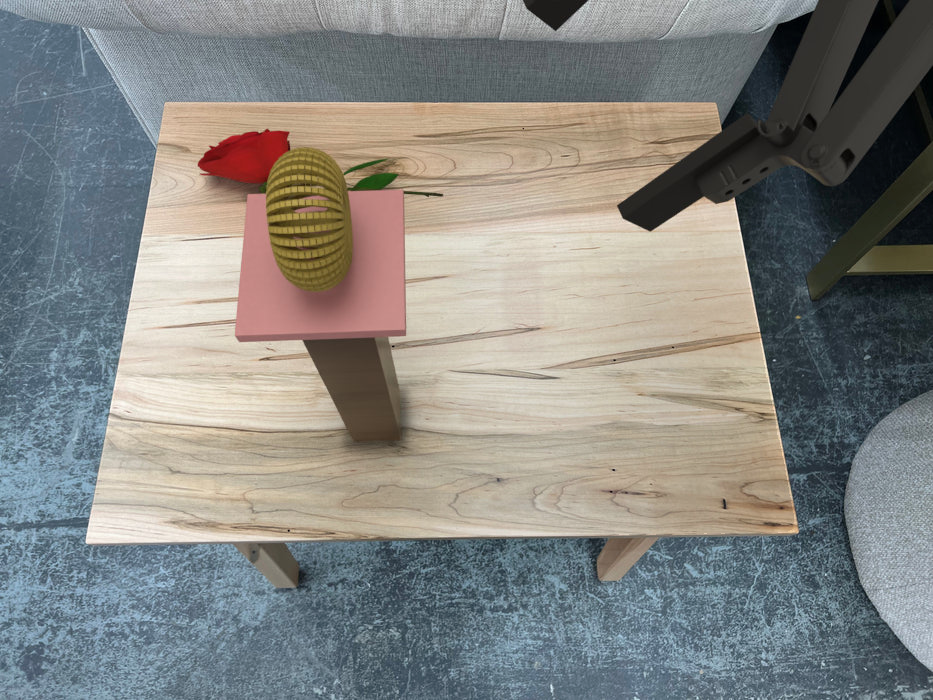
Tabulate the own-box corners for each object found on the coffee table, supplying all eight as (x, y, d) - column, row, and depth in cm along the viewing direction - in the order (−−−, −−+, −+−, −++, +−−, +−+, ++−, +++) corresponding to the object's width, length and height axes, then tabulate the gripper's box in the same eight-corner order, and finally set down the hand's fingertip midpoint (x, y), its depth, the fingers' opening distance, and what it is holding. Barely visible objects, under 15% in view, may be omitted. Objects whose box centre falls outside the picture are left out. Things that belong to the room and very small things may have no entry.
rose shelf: (406, 336, 41) (405, 329, 40) (239, 342, 41) (234, 335, 40) (404, 198, 45) (403, 189, 44) (251, 202, 45) (247, 193, 44)
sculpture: (358, 313, 41) (337, 241, 33) (290, 317, 41) (254, 246, 33) (355, 201, 44) (335, 113, 36) (292, 205, 44) (259, 117, 36)
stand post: (401, 439, 72) (365, 301, 42) (353, 441, 72) (283, 303, 42) (400, 394, 74) (366, 232, 44) (354, 396, 73) (287, 234, 44)
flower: (442, 135, 73) (180, 111, 77) (432, 224, 74) (173, 196, 78) (455, 153, 82) (220, 131, 86) (446, 232, 83) (213, 206, 87)
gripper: (1334, 7, 21) (716, 333, 33) (907, -389, 30) (544, -22, 42) (1427, -148, 15) (642, 312, 27) (868, -576, 25) (463, -92, 36)
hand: (582, 110), depth 35 cm, fingers open, 13 cm apart
